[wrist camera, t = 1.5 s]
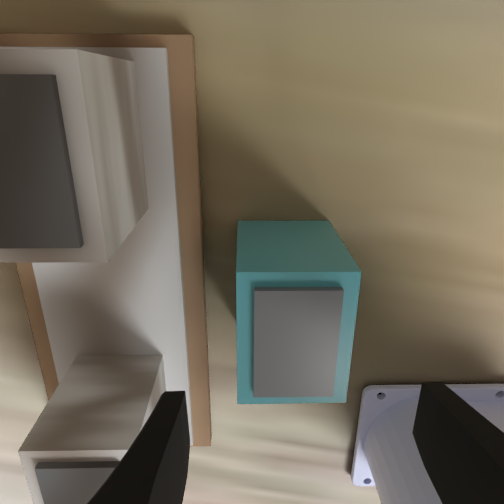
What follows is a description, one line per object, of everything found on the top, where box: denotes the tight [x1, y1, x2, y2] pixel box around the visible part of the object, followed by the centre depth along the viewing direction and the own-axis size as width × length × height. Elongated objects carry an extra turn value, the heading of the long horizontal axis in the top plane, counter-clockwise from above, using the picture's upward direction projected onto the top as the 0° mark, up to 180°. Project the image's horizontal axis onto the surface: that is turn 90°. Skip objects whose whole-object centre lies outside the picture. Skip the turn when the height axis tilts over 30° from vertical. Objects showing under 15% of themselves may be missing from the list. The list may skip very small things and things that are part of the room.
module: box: [236, 220, 362, 404], centre depth 18 cm, size 4×6×6 cm
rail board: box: [0, 33, 212, 504], centre depth 17 cm, size 9×22×8 cm, turn 0°
